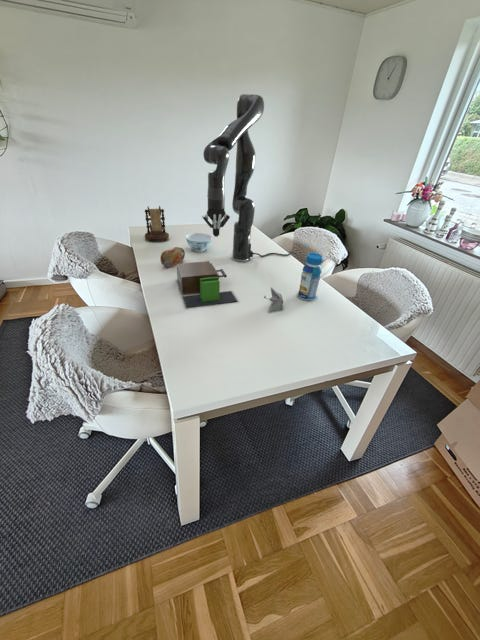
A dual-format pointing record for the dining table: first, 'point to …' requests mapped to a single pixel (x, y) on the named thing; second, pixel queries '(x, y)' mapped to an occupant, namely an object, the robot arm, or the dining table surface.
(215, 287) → the green ridged box
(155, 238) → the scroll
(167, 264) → the tin
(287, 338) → the dining table surface
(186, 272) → the cabinet
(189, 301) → the placemat
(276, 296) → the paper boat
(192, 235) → the chinaware
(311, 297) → the beverage bottle
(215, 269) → the drawer
